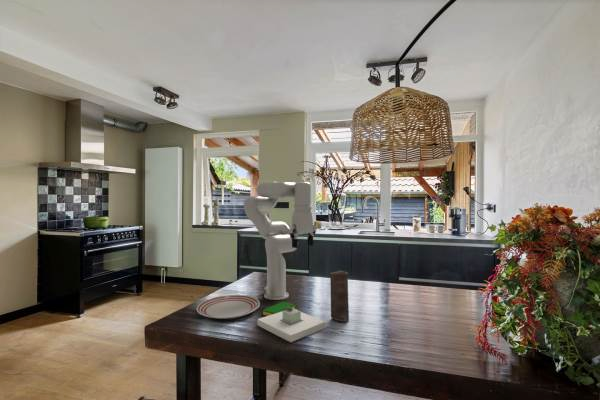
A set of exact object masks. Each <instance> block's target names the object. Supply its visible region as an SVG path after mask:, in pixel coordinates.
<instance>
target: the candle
mask: <svg viewBox="0 0 600 400" xmlns="http://www.w3.org/2000/svg"><path fill="white" fill-rule="evenodd" d="M348 275H349V273H348V272H347V271H344V270H337V271H333V272H330V276H329V277H330V279H329V280H330V318H331V319H332V320H335V321H337V322H342V323H343V322H344V323H345V322H349V320H350V315H349V313H350V311H349V310H350V309H349V308H350V307H349V282H348V281H349V279H348V278H349V276H348Z"/></svg>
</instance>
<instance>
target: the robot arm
mask: <svg viewBox="0 0 600 400" xmlns="http://www.w3.org/2000/svg"><path fill="white" fill-rule="evenodd" d="M311 186H312V185H311V183H310V182H308V181H298V182H292V181H263V182H260V183H259V184H257V185H256V194H257V195H250V196H248V197H246V198H245V200H244V201H243V208H244V212H245V215H246V217H247V218H248V220H250V221H251V223H252V224H253V225H254V226H255V229H256V230H257V231H258V233H259V234H260V236H261V237H262V238H263V239H264V242H265V243H264V247H265V248H264V249H265V252H266V254H265V255H266V286H264V290H266V291H265V293H264V295H263V297H264V299H267V300H270V301H280V300H281V301H283V300H286V299H288V298H289V296H290V294H289V292H287V291H286V290H287V286H286V285H287V282H286V281H287V280H286V278H287V276H286V275H287V273H286V268H287V267H286V265H287V264H286V259H285V257H284V256H283V254H284V253H285V254H286V253H291V252H294V251H296V250H297V248H299V241H298V236H299V235H307V242H306V243H307V244H306V245H307V246H309V247H310V246H312V247H313V246H314V237H315V234H316V232H317V229H318V227H317V226H316V225H315V224H314V221H313V213H312V203H311V202H312V199H311V198H312V193H311V192H312V189H311V188H312V187H311ZM280 199H294V203H293V204H294V212H292V216H291V223H290V226H289V225H288V224H287V223H286V222H284V221H281V220H275V221H273V220H271V219H270V218H269V217H268V216H267V214H265V213H264V211H266V212H267V211H272V210H273V209H274V208H275V207H276V206H277V203H278V202H279V201H280Z"/></svg>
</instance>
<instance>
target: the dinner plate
mask: <svg viewBox="0 0 600 400" xmlns="http://www.w3.org/2000/svg"><path fill="white" fill-rule="evenodd" d="M260 305H261V302H260V300H259V299H257V298H256V297H253V296H251V295H250V296H249V295H244V294H228V295H227V294H226V295H220V296H215V297H212V298H208V299H206V300H204V301H202V302H201V303H199V304H198V305H197V307H196V312H197V313H198V314H199V315H201V316H204V317H207V318H210V319H217V320H218V319H219V320H231V319H236V318H240V317H243V316H247V315H249V314H251V313H253V312H254V311H256V310H257V309H258V308H259V307H260Z"/></svg>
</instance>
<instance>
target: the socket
mask: <svg viewBox="0 0 600 400" xmlns="http://www.w3.org/2000/svg"><path fill="white" fill-rule="evenodd" d="M257 326H258V327H260V328H262V329H264V330H266V331H268V332H269V333H272V334H273V335H275V336H277V337H279V338H281V339H283V340H285V341H287V342H288V343H293V342H295V341H297V340H300V339H302V338H304V337H307V336H309V335H312V334H314V333H317V332H318V331H322V330H323V329H326V328H327V327H326V326H327V321H325V320H323V319H320V318H317V317H315V316H312V315H311V314H308V313H305V312H302V311H301V322H299V323H296V324H293V325H291V326H290V325H288V324H286V323H284V322H283V311H282V312H279V313H276V314H272V315H269V316H266V315H265V316H263V317H260V318H257Z"/></svg>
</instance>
